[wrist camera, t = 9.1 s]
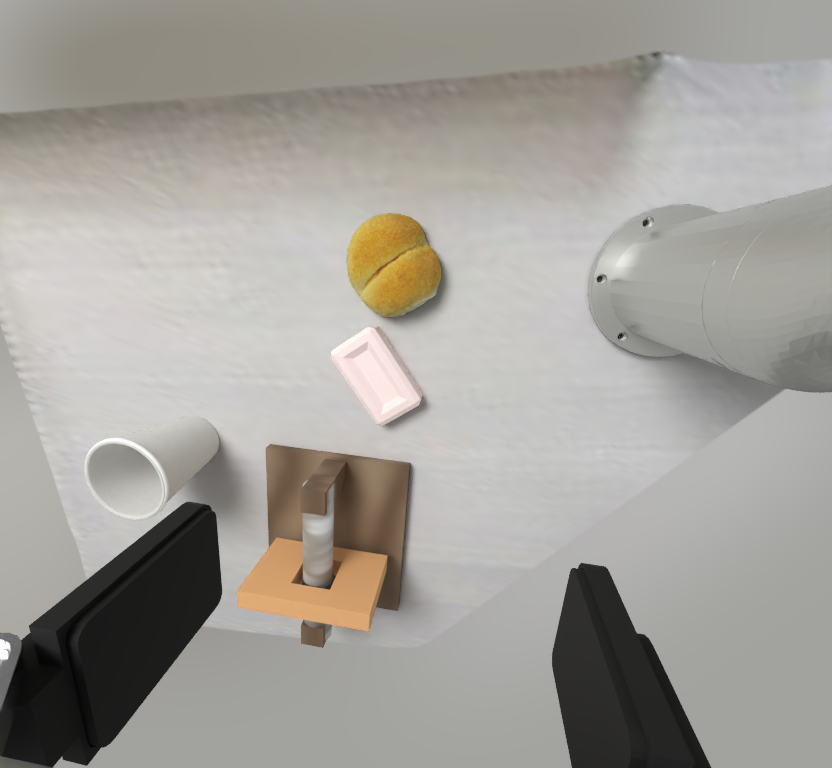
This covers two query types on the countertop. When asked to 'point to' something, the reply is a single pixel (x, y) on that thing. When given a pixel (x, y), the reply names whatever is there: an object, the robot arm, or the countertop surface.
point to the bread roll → (392, 265)
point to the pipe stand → (337, 515)
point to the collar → (341, 605)
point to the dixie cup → (149, 465)
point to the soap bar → (377, 375)
